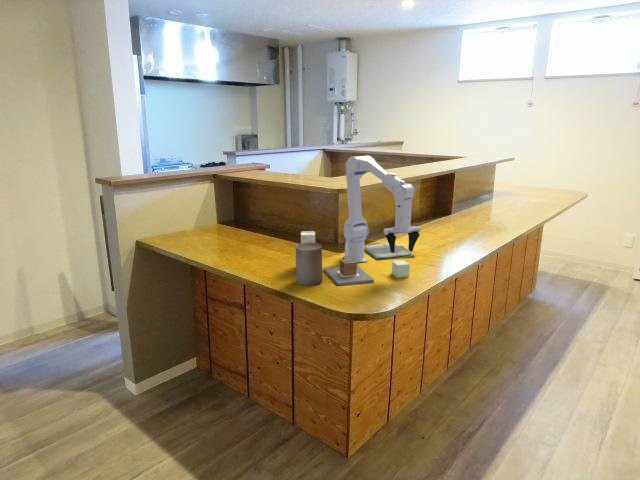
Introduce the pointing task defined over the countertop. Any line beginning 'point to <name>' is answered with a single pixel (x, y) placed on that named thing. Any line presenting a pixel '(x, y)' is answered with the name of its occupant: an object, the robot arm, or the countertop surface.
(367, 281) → the base plate
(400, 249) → the dish towel
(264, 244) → the countertop surface
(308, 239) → the syrup box
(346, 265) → the walnut block
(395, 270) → the sage block
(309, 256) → the pillar candle
